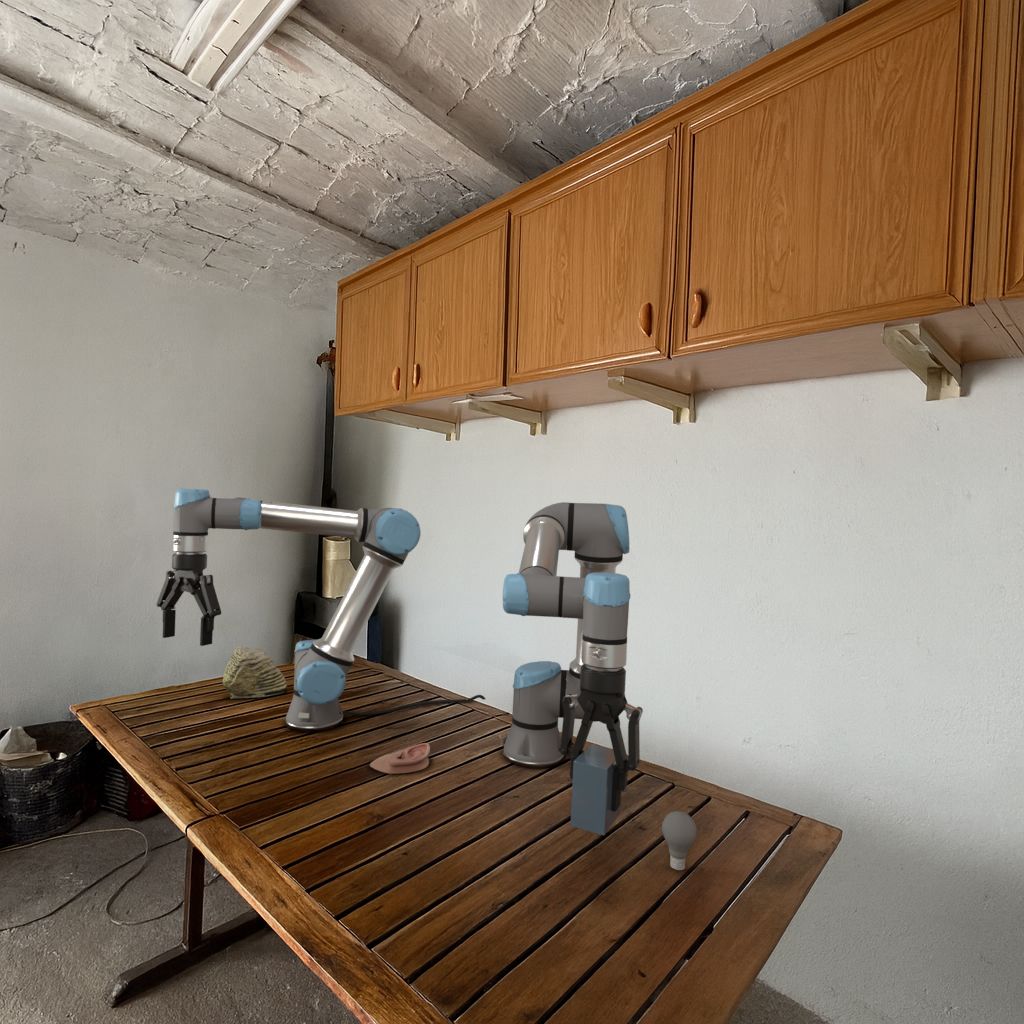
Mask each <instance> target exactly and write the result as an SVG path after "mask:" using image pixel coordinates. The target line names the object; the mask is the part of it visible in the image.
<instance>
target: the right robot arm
mask: <svg viewBox="0 0 1024 1024" xmlns="http://www.w3.org/2000/svg"><path fill="white" fill-rule="evenodd" d="M628 521H629V520H628V515H627V511H626V508H624V507H623V506H622V505H618V504H610V503H597V502H595V503H591V502H567V501H566V502H565V501H564V502H556V503H552V504H549V505H548V506H544V507H543V508H542V509H539V510H538V511H536V512H534V514H533V515H532V516H530V518H529V519H528V520H527V522H526V523H525V525H524V526H525V527H524V529H523V534H522V536H523V537H522V538H523V542H524V548H523V552H522V557H521V561H520V565H519V569H518V572H517V573H509V574H506V575H505V577H504V580H503V587H502V609H503V611H504V612H505V613H506V614H509V615H517V616H522V617H528V616H529V617H543V618H544V617H547V618H561V619H562V618H563V619H575V620H577V628H576V629H577V630H576V632H577V633H576V646H575V647H576V648H575V649H576V650H575V658H574V659H573V660H571V661H570V662H569V667H568V669H569V670H568V669H562V667H561V664H560V663H559V662H556V661H550V660H540V661H533V662H527V663H525V664H524V663H523V664H522V665H520V666H518V667H517V668H516V669H515V671H514V677H513V684H512V688H513V693H512V694H513V697H512V713H511V726H510V728H509V731H508V733H507V735H505V737H504V738H503V741H502V746H503V752H502V755H503V757H504V759H505V760H506V761H508V762H509V763H510V764H514V765H516V766H519V767H524V768H530V769H544V768H551V767H554V766H557V765H559V764H561V763H562V762H563V761H564V759H565V756H567V758H569V761H570V763H569V764H570V765H569V766H570V767H569V777H570V779H572V780H573V761H574V760H575V759H576V758H577V757H578V756H579V755H580V754H581V753H583V752H584V748H585V745H586V742H587V739H588V737H589V734H590V731H591V728H592V726H593V723H595V722H600V723H601V724H604V725H605V726H606V730H607V732H608V735H609V738H610V742H611V747H612V749H613V751H614V756H615V760H616V764H617V767H616V769H615V770H614V771H613V783H612V804H611V811H614V812H616V811H617V809H618V808H619V806H620V803H621V804H622V792H624V791H625V790H626V789H627V787H628V777H629V775H628V773H629V771H631V772H635V771H636V770H637V768H638V767H639V766H640V763H641V759H640V757H641V755H640V754H641V753H640V752H641V750H640V749H641V748H640V745H641V744H640V722H641V721H640V720H641V718H642V715H643V713H644V708H642V707H641V706H634V705H632V704H630V703H628V700H627V697H626V678H627V677H626V676H627V671H626V669H625V666H627V658H628V629H629V628H628V627H629V612H630V611H629V610H630V600H631V591H630V588H631V586H630V583H631V582H630V578H629V577H628V576H627V575H625V574H622V573H618V572H616V570H617V567H618V566H619V565H620V564H621V563H622V562H623V559H624V555H626V554H629V553H630V550H631V549H630V529H629V522H628ZM560 551H569V552H570V551H571V552H574V560H575V561H576V562H577V563H578V564H579V576H578V577H576V576H559V575H557V574H558V566H559V565H558V563H559V554H560ZM624 711H625V713H626V719H627V720H628V724H627V749H628V751H626V750H627V749H626V746H625V742H624V737H623V734H622V733H623V732H622V728H621V720H620V715H621V714H622V713H623V712H624ZM560 718H561V719H562V728H561V734H560V730H559V719H560ZM575 720H581V721H580V726H579V729H578V731H577V735H576V738H575V739H574V728H575ZM573 739H574V740H573ZM573 741H574V742H573ZM627 753H628V755H627Z"/></svg>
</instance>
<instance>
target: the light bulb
mask: <svg viewBox="0 0 1024 1024" xmlns="http://www.w3.org/2000/svg"><path fill="white" fill-rule="evenodd" d="M661 831H662V836H663V837H664V839H665V842H666V844H667V847H668V852H669V855H670V858H669V859H670V860H669V866H670V867H671V868H672V869H674V870H676V871H683V870H685V869H686V858H687V856H688V854H689V850H690V848H691V847H692V846H693V844H694V842H695V841H696V838H697V835H698V830H697V824H696V823H695V821H694V820H693V818H692V817H691V816H690V815H689V814H688V813H687V812H684V811H680V810H674V811H671V812H669V813H668V814H667V815H666V816H665V817H664V818H663V821H662V824H661Z"/></svg>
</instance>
